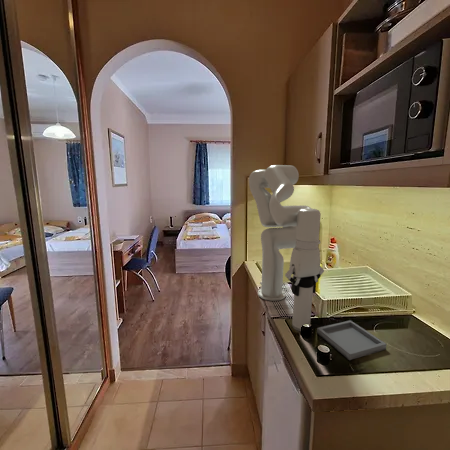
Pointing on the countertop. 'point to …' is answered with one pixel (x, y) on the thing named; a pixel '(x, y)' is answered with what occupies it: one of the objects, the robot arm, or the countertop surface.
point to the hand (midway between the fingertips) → (303, 292)
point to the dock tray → (351, 339)
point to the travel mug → (303, 303)
